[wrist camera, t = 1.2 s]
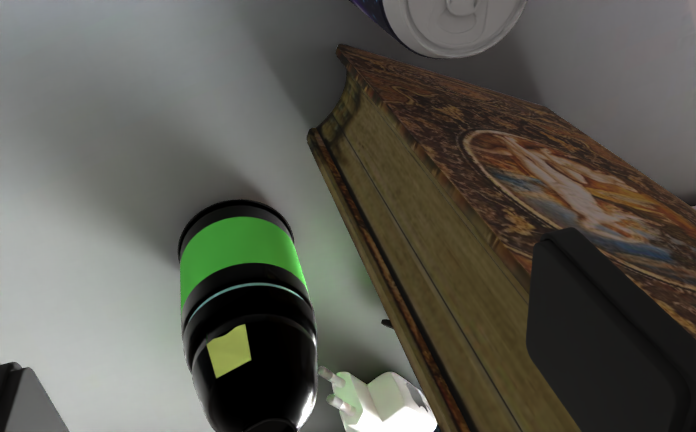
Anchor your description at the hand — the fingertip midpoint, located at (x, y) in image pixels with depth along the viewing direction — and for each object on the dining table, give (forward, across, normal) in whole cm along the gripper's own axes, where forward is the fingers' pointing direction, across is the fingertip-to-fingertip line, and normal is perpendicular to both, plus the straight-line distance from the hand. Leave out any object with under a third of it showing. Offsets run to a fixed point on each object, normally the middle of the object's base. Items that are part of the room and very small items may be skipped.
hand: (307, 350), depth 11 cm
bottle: (+24, +2, +13) cm, 27 cm away
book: (+24, -12, +7) cm, 28 cm away
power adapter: (+22, -7, +28) cm, 36 cm away
